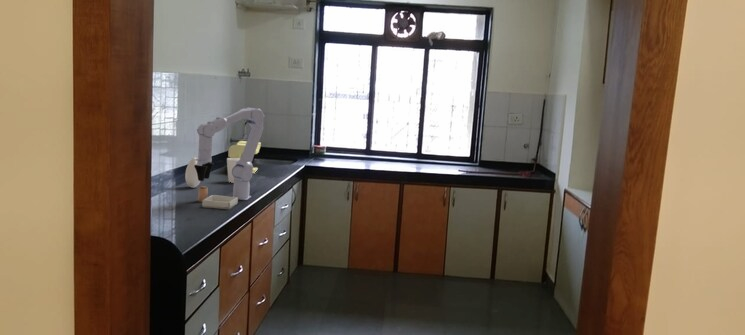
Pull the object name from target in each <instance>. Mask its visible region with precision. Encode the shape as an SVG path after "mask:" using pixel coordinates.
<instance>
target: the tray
mask: <svg viewBox="0 0 745 335" xmlns="http://www.w3.org/2000/svg"><path fill="white" fill-rule="evenodd" d="M238 204H239V199H238V197H232V196H228V195H217V194H211V195H209V196H207V198H206V199H204V200H202V202H201V207H202V208H210V209H219V210H220V209H221V210H232V208H233V207H235V206H236V205H238Z"/></svg>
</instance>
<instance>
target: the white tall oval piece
mask: <svg viewBox="0 0 745 335" xmlns="http://www.w3.org/2000/svg"><path fill="white" fill-rule="evenodd" d="M195 155H196V153H195V152H194V153H193V157H191V160H189V162H188V163H187V166H186V169H185V174H184V175H185V176H184V177H185V178H184V179H185V183H186V184H187V186H189V187H190V188H191V189H195V188H196V187H197V186H199V185H200V183H201V181H199V180H198V175H197V171H196V169H195V167H194V165H197V161H195V160H196V159H198V157H196V156H195Z"/></svg>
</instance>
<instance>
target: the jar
mask: <svg viewBox="0 0 745 335" xmlns="http://www.w3.org/2000/svg"><path fill="white" fill-rule="evenodd" d="M208 189H209V188H208V186H205V185H200V186H198V192H197V194H198V196H197V202H201V203H202V200H204V199H206V198H207V197H208V193H209V192H208Z"/></svg>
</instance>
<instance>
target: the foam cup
mask: <svg viewBox="0 0 745 335" xmlns="http://www.w3.org/2000/svg"><path fill="white" fill-rule="evenodd" d="M240 159H241V158H240ZM240 159H239V158H230V157H227V158H226V166H227V168H226V169H227V178H228V179H227V180H228V181H227V182H228V183H230V182H231V183H230V184H234V177H233V175H232V168H233V167H234V166H235V165H236V162H237V161H239V160H240Z"/></svg>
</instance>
